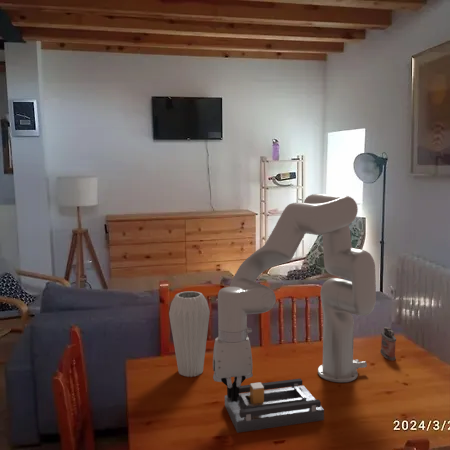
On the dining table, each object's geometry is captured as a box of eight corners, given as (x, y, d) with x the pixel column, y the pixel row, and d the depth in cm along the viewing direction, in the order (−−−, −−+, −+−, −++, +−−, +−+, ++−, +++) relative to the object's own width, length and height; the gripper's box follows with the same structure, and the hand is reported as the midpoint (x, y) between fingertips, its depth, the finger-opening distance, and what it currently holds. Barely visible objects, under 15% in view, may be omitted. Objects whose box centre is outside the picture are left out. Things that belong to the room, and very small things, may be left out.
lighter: (378, 351, 169) (379, 324, 168) (387, 350, 170) (388, 324, 168) (388, 360, 161) (389, 332, 160) (397, 359, 162) (398, 332, 160)
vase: (205, 382, 147) (204, 301, 143) (165, 379, 149) (163, 299, 146) (214, 364, 160) (213, 289, 156) (177, 361, 162) (175, 288, 159)
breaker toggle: (260, 400, 129) (260, 382, 128) (264, 405, 126) (263, 387, 125) (250, 401, 128) (250, 383, 128) (253, 407, 125) (253, 388, 125)
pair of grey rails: (300, 385, 138) (300, 378, 137) (320, 410, 124) (321, 402, 124) (227, 394, 133) (227, 387, 132) (241, 421, 119) (241, 413, 119)
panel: (303, 394, 138) (303, 379, 137) (323, 420, 125) (324, 402, 124) (224, 405, 133) (224, 388, 132) (237, 432, 119) (237, 414, 119)
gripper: (255, 326, 128) (255, 389, 131) (202, 331, 125) (203, 396, 127) (263, 336, 121) (263, 402, 124) (207, 342, 118) (208, 410, 120)
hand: (233, 399), depth 125 cm, fingers closed
